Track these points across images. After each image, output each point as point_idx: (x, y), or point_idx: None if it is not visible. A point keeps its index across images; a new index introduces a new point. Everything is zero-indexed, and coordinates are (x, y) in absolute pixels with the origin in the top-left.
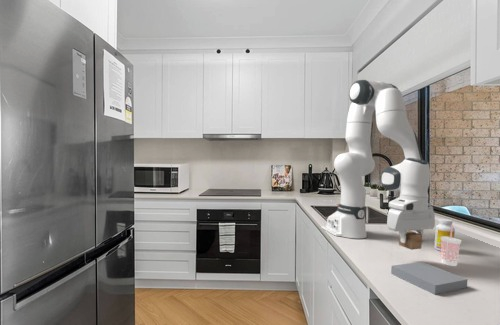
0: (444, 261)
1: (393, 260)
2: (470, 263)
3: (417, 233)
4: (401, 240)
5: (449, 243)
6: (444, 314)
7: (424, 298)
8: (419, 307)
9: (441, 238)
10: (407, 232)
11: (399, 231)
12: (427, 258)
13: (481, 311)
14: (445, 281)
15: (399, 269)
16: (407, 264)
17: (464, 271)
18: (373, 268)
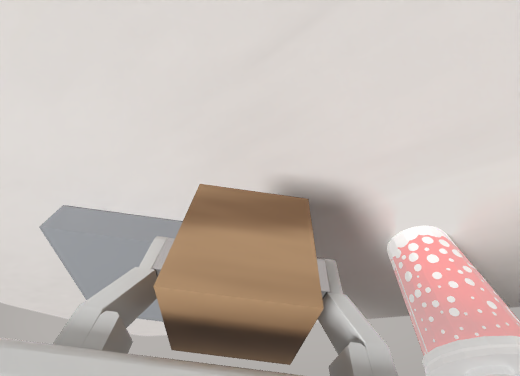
0: (394, 247)
1: (189, 128)
2: (496, 272)
3: (284, 349)
4: (154, 249)
5: (423, 352)
6: (66, 312)
7: (68, 288)
8: (31, 294)
9: (462, 353)
10: (212, 319)
11: (73, 324)
12: (413, 184)
13: (146, 328)
14: (142, 315)
15: (54, 249)
16: (124, 242)
17: (358, 283)
18: (5, 151)
